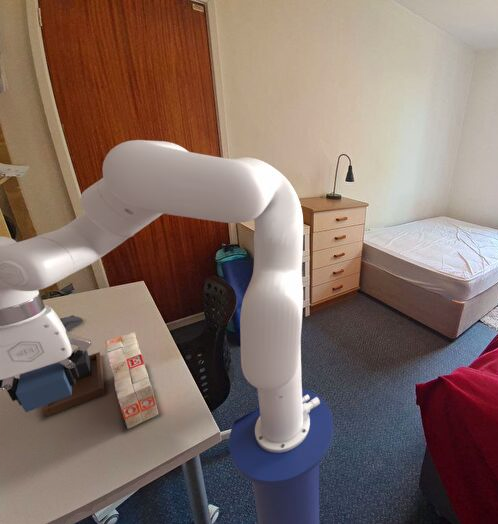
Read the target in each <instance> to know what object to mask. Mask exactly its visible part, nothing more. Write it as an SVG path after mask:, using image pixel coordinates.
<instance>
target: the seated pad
mask: <svg viewBox="0 0 498 524" xmlns="http://www.w3.org/2000/svg"><path fill="white" fill-rule="evenodd" d="M72 353H73V352H72ZM72 353H71V354H72ZM89 355H90V354H89V353H88V349H87V350H86V351H85V352H84V353H83V355H82V356H81V358H80V359H79V360H78V361H77V362H76V364H75V366H76V368H77V371H78V373H79V378H76V380H79V379H82V378H84V377H87V376H90V375H91V360H90V358H89Z"/></svg>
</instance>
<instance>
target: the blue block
mask: <svg viewBox="0 0 498 524" xmlns="http://www.w3.org/2000/svg"><path fill="white" fill-rule="evenodd" d="M18 379H19V381H18V385H17V390H16V396H17V398H18V399H19V401H20V403H21V405H20V406H21V407H22V409H23V410H24V413H28V412H31V411H34V410H37V409H40V408H42V407H44V405H47V404H50V403H52V402H55V401H57V400H60V399H63V398H65V397H68V396H70V395H72V386H70V384H69V381H68V379H67V377H66V374H65V372H64V366H63V365H62V364H60V363H59V362H58V363H55V364H52V365H49V366H46V367H42V368H39V369H36V370H33V371H30V372H27V373H24V374H21V375H18Z"/></svg>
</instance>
